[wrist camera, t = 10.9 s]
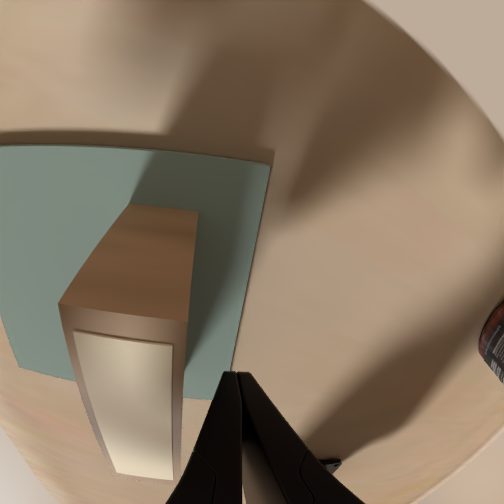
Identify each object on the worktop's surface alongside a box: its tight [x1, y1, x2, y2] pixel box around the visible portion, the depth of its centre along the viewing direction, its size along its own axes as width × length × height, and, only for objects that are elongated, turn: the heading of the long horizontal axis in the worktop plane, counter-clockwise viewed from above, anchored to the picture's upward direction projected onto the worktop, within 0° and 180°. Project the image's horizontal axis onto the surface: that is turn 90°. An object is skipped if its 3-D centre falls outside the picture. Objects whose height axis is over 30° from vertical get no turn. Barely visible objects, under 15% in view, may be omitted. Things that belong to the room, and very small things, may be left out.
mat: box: [0, 144, 271, 400], centre depth 12 cm, size 12×12×1 cm
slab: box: [58, 204, 199, 485], centre depth 9 cm, size 8×2×6 cm, turn 169°
